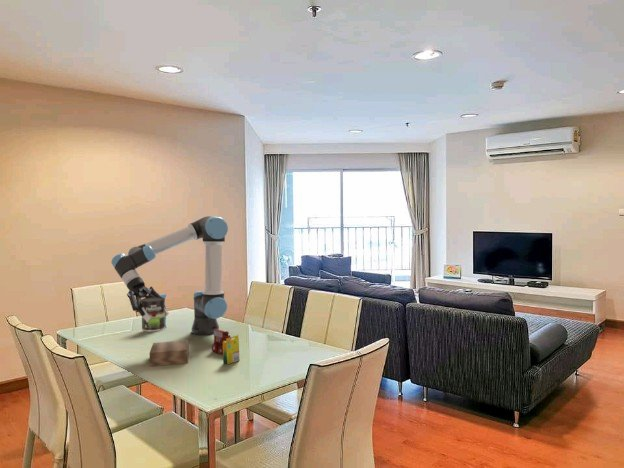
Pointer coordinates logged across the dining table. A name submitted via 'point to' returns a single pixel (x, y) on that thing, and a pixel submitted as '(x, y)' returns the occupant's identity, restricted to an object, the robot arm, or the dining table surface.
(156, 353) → the walnut block
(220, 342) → the toy fire truck
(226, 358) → the crayon box
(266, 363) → the dining table surface
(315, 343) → the dining table surface
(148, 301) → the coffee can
